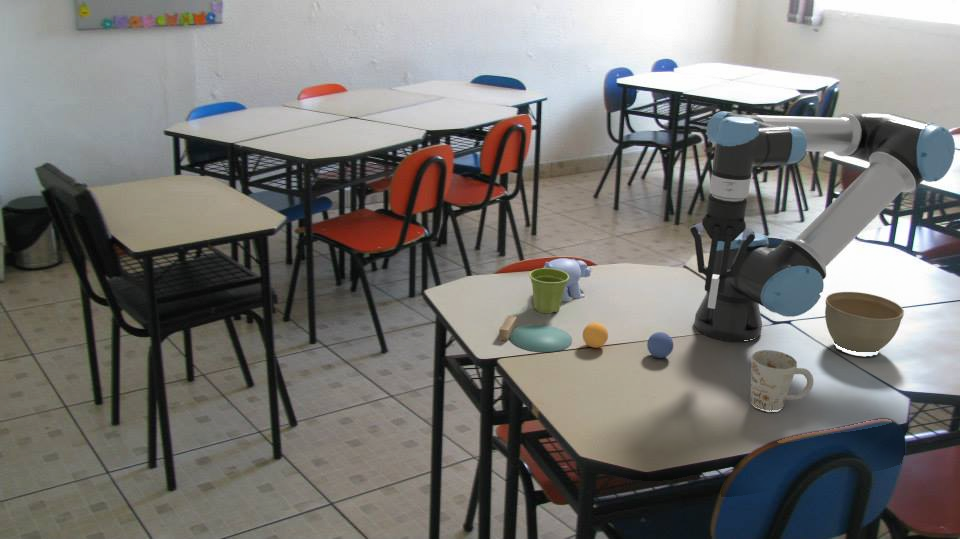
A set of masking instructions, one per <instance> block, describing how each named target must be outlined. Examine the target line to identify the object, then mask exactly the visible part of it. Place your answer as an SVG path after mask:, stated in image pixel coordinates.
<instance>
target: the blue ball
mask: <svg viewBox="0 0 960 539" xmlns="http://www.w3.org/2000/svg"><path fill="white" fill-rule="evenodd" d="M646 343H647V344H646V345H647V350H648V352H649V353H650V354H651V356H653V357H655V358H657V359H659V358H660V359H662V358H663V359H664V358H666V357H668V356H669V355H670V354H671V353H672V352H673V350H674V341H673V338H672V337H671V336H670V335H669V334H668V333H665V332H663V331H659V332H658V331H657V332H655V333H653V334H651V335H650V336H649V338H648V340H647V342H646Z"/></svg>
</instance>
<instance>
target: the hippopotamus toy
mask: <svg viewBox="0 0 960 539" xmlns="http://www.w3.org/2000/svg"><path fill="white" fill-rule="evenodd" d="M543 268H551V269H557V270H561V271H564V272H566V273H567V274H568V275H569V280H568V281H567V283H566V285H565V288H564V292H563V296H562V301H561V303H565V302H566V303H567V302H569V301H573V300H574V299H582V298H584V297H585V295H584V294H583V293H582V292H581V288H580V284H579V281H580V279H581V278H588V277H591V273H592V267H591V266H589V267H588V265H587V263H586V262H584V261H583V260H580V259H579V260H576V259H575V258H566V257H565V258H555V259H553V260H551V261H545V262H544V266H543Z"/></svg>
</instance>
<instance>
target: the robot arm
mask: <svg viewBox="0 0 960 539" xmlns="http://www.w3.org/2000/svg"><path fill="white" fill-rule="evenodd" d="M706 137H707V140H708V141H709V142H710V143H712V144H713V145H715V148H714V154H713V155H714V156H713V163H712V169H711V170H712V172H711V178H710V184H709V193H710V194H709V195H708V197H707V204H706V210H705V215H704V217H703V218H702V220H701V221H700V222H699V223H697V224H695V223H693V224H692V225H690V226H691V227H690V233H691V235H692V237H693V239H694V245H695V246H694V247H695V254H696V255H695V256H696V264H697V271H698V273H699V274H703V275H704V276H705V284H704V292H706V293H705V295H704V297H703V299H702V302H701V303H700V305H699V306H698V309H697V311H696V313H695V315H694V316H695V317H694V322H693V326H694V327H695V329H697V331H698V332H700V333H701V334H703V335H706V336H708V337H711V338H713V339H716V338H717V340H720V339H722V340H721V341H725V340H728V341H727V342H734V341H744V340H750V339H754V338H756V337H758V336H759V335H760V334H761V335H762V330H763V321H762V316H761V315H762V314H761V310H760V306H761V307H764V308H765V309H766V310H768V311H770V312H772V313H775V314H778V315H780V316H782V317H788V318H790V317H792V318H794V317H799V316H801V315H804V314H806V313H807V312H809V311H810V310H811V309H812V308H813V307H815V305H817V303H818V302H819V300H820V299H821V295H820V293H823V292H824V288H825V287H824V286H825V284H824V279H826V277H827V266H828V265H829V264H831V262H833V260H834V259H835V258H837V256H838V255H839V254H840V253H841V252H842V251H844V249H846V248H847V246H848V245H849V244H850V243H852V241H853V240H855V239H856V237H857V236H858V235H860V234H861V232H863V230H865V228H866V227H867V226H868V225H869V224H870V223H872V222H873V221H874V219H875V218H876V217H878V216H879V214H880V213H881V212H882V211H884V210H885V208H887V207H888V206H889V205H890V204H891V203H892V202H893V201H894V200H895V199H896V198H897V197H898V196H899V195H900V193H911V192H913V191H914V190H915V189H916V188H917V187H918V186H919V185H920V184H921V183H923V181H925V182H928V183H931V182H937V181H940V180H941V179H943V178H944V177H945V176H946V175H947V173H948V172H949V170H950V168H951V167H952V165H953V162H954V158H955V157H954V156H955V152H956V149H955V148H956V144H955V143H956V142H955V139H954V137H953V134H952V133H951V131H950V130H949V129H947V128H945V127H944V126H940V125H937V124H935V123H934V122H924V121H921V120H916V119H912V118H910V117H905V116H900V115H899V114H898V115H897V114H895V113H893V114H892V113H886V112H885V113H884V112H873V113H871V112H870V113H868V112H867V113H866V112H865V113H864V112H863V113H857V112H856V113H850V112H849V113H848V112H847V113H841V114H839V115H837V116H835V117H828V116H827V117H826V116H824V117H822V116H797V115H796V116H795V115H794V116H793V115H792V116H791V115H790V116H788V115H787V116H786V115H763V114H762V115H761V114H760V115H759V114H757V115H752V114H738V113H735V112H733V111H723V110H722V111H719V112H716V113H715V114H713V115H712V116H711V117H710V118H709V120H708V123H707V125H706ZM806 152H830V153H831V152H832V153H834V155H836V156H839V157H848V158H849V157H850V158H854V159H858V160H860V161H864V162H868V163H869V166H868V167H866V169H865V170H864V171H863V172H861V174H860V175H859V176H857V177H856V179H855V180H853V182H851V183H850V184H849V185H848V187H846V188H845V189H844V191H843V192H841V193H840V194H839V196H837V198H836V199H834V200H833V201H832V202H831V203H830V204H829V205H828V207H826V208H825V209H824V210H823V211H822V212H821V213H820V214H819V215H818V216H817V217H816V218H815V219H814V220H813V221H812V222H811V223H810V224H809V225H808V226H807V227H806V228H805V229H804V230H803V231H802V232H801V233H799V235H797V237H796V238H795V239H793V238H792V239H784V240H782V241H781V242H780V243H779V245H777V246H776V247H775V248H774V249H771V248H770V247H768V246H769V238H768V236H767V235H765V234H762V233H758V232H754V231H752V230H750V229H749V228H747V225H746V224H747V223H746V221H745V217H746V211H747V205H748V200H747V199H746V198H747V197H748V196H749V192H750V185H751V179H752V174H753V169H754V167H764V166H766V167H767V166H786V165H790V164H797V163H799V162H800V161H801V160H802V159H803V158H804V156H805V154H806ZM704 230H705V232H706V233H707V235H708V237H709V238H710V239H711V243H710V250H709V256H708V263H707V266H706V265H705V259H704V258H705V257H704V249H703V241H702V240H703V239H702V234H703V233H704ZM761 335H760V336H761ZM760 336H759V337H760ZM759 337H758V338H759ZM754 340H755V339H754ZM744 342H745V341H744Z"/></svg>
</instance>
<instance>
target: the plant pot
mask: <svg viewBox="0 0 960 539" xmlns="http://www.w3.org/2000/svg"><path fill="white" fill-rule="evenodd" d="M528 276H529V279H530V282H531V284H532V286H531V287H532V296H533V299H532V300H533V309H535V310H536V311H537V312H539V313H542V314H552V313H558V312H559V311H560V309H561V304H562V296H563V292H564V288H565V285H566V283H567V281H568V280H569V275H568V274H567V273H566V272H564V271H561V270H557V269H551V268H544V267H542V268H536V269H534V270H531V271H530V272H529V275H528Z"/></svg>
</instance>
